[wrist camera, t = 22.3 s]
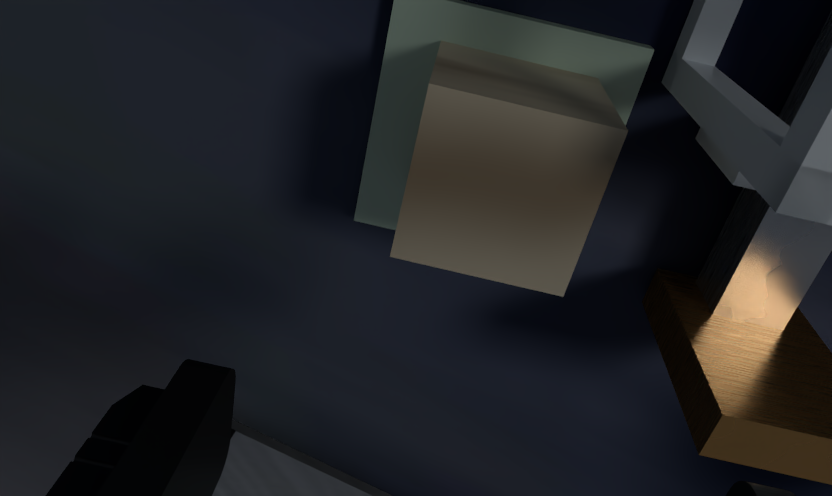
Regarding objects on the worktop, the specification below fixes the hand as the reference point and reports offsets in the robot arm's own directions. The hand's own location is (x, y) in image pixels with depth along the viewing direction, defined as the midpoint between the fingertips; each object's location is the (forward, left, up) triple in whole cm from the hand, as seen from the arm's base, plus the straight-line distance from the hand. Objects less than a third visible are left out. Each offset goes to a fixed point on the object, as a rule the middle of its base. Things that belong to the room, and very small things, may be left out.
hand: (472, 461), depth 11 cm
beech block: (+1, 0, -13) cm, 13 cm away
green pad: (+1, 0, -14) cm, 14 cm away
